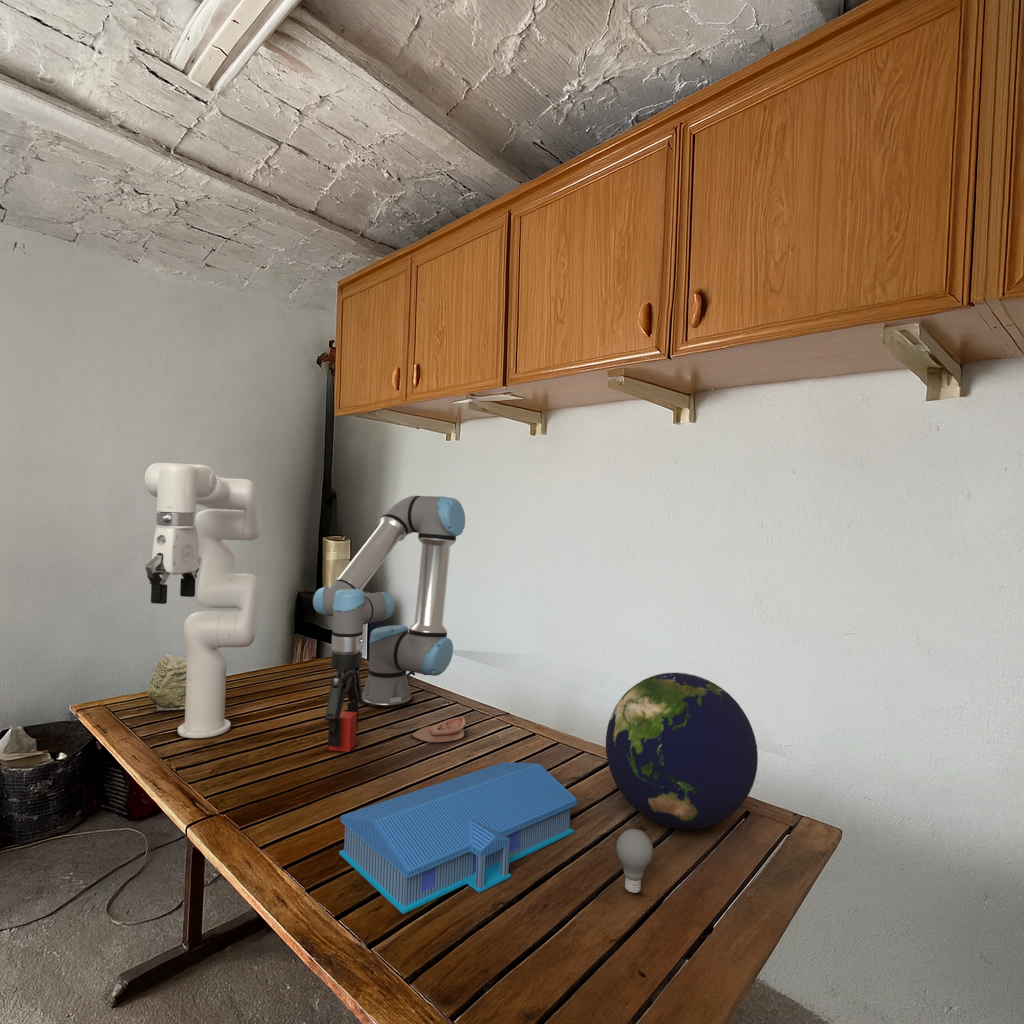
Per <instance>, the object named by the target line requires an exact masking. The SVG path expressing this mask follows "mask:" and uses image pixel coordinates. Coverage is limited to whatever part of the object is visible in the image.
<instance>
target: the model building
mask: <svg viewBox="0 0 1024 1024" xmlns="http://www.w3.org/2000/svg"><path fill="white" fill-rule="evenodd" d="M577 805H578V799H577V798H576V797H575V796H574V795H573V794H572V793H571V792H570V791H569V790H568V789H567V788H566V787H565V786H564V785H562V784H561V783H560V781H559V780H557V779H556V778H555V777H554V776H553V775H552V774H551V773H550V772H549V771H548V770H547V769H546V768H544V766H542V765H541V764H540V763H538V762H537V763H535V762H534V763H533V762H510V761H509V762H508V761H502V762H500V763H496V764H494V765H490V766H487V767H485V768H481V769H479V770H476V771H475V770H474V771H472V772H469V773H466V774H463V775H459V776H458V777H454V778H451V779H448V780H444V781H442V782H439V783H436V784H432V785H429V786H427V787H424V788H421V789H417V790H414V791H412V792H409V793H406V794H403V795H399V796H395V797H393V798H391V799H387V800H383V801H382V802H378V803H375V804H372V805H369V806H366V807H362V808H360V809H357V810H353V811H351V812H348V813H345V814H342V815H340V822H341V823H342V825H344V846H343V849H342V850H339V851H338V855H339V856H340V857H341V858H343V859H344V860H345V862H347V864H349V865H350V866H351V867H352V868H353V869H354V870H355V871H357V872H358V873H359V874H360V875H361V876H362V878H364V879H365V881H367V882H368V883H369V884H370V885H371V886H372V887H373V888H374V889H375V890H376V891H377V892H379V893H380V894H381V895H382V896H383V897H384V898H385V899H386V900H387V901H388V902H389V903H390V904H392V906H393V907H395V908H396V909H397V910H398V911H399V912H400V913H401V914H402V915H405V914H407V913H409V912H411V911H413V910H415V909H417V908H419V907H422V906H423V905H426V904H427V903H430V902H432V901H434V900H436V899H439V898H440V897H443V896H444V895H446V894H449V893H451V892H453V891H455V890H457V889H459V888H461V887H463V886H465V885H468V886H469V887H471V888H472V889H473V890H474V891H476V892H477V893H478V894H480V893H483V892H484V891H486V890H489V889H490V888H492V887H494V886H497V885H498V884H500V883H502V882H505V881H506V880H508V879H510V878H511V877H512V874H511V873H509V869H510V868H509V866H510V864H511V863H514V862H515V861H519V860H520V859H521V858H524V857H526V856H528V855H531V854H533V853H535V852H537V851H539V850H541V849H543V848H545V847H547V846H549V845H551V844H553V843H555V842H557V841H560V840H562V839H564V838H566V837H568V836H570V835H573V834H574V833H575V830H574V829H572V827H571V808H573V807H575V806H577Z"/></svg>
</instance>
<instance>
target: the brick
mask: <svg viewBox="0 0 1024 1024" xmlns="http://www.w3.org/2000/svg"><path fill="white" fill-rule="evenodd" d="M339 719H341V732H340V746H339V747H333V746H328V751H332V752H333V751H334V752H347V753H350V752H351V751H352V750H353V749H354V748H355V746H356V745H357V729H356V725H357V712H347V710H346V711H345V710H341V714H340V718H339Z"/></svg>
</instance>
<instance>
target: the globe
mask: <svg viewBox="0 0 1024 1024" xmlns="http://www.w3.org/2000/svg"><path fill="white" fill-rule="evenodd" d="M605 755H606V760H607V765H608V769H609V772H610V773H611V774H610V775H611V776H612V779H613V781H614V784H615V786H616V787H617V788H618V790H619V792H620V793H621V795H622V796H623V797H624V799H625V800H626V801H627V802H628V803H629V805H631V806H632V807H633V808H634V809H635V810H636V811H637V812H639V813H640V814H641V815H642V816H643V817H645V818H647V819H649V820H650V821H652V822H654V823H657V824H659V825H661V826H664V827H667V828H670V829H671V828H672V829H677V830H685V831H686V830H687V831H690V830H701V829H706V828H710V827H712V826H715V825H718V824H719V823H721V822H723V821H725V820H726V819H728V818H730V817H731V816H732V815H733V814H735V812H737V811H738V810H739V808H741V806H742V805H743V803H744V802H745V801H746V800H747V798H748V796H749V795H750V793H751V791H752V788H753V786H754V783H755V780H756V776H757V772H758V762H759V761H758V760H759V759H758V758H759V757H758V756H759V754H758V745H757V740H756V736H755V732H754V729H753V727H752V724H751V722H750V720H749V718H748V716H747V715H746V713H745V711H744V710H743V708H742V707H741V706H740V704H739V703H738V702H737V700H735V698H734V697H733V696H732V695H731V694H730V693H729V692H728V691H726V690H725V689H723V688H722V687H721V686H719V685H718V684H716V683H714V682H713V681H710V680H709V679H707V678H704V677H701V676H698V675H696V674H691V673H686V672H679V671H677V672H665V673H658V674H655V675H652V676H649V677H646V678H644V679H643V680H641V681H639V682H637V683H636V684H635V685H633V686H631V687H630V688H629V689H628V690H627V691H626V692H625V693H624V694H623V695H622V696H621V697H620V699H619V700H618V702H617V703H616V704H615V706H614V708H613V710H612V712H611V714H610V717H609V720H608V723H607V728H606V733H605Z"/></svg>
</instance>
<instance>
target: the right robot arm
mask: <svg viewBox="0 0 1024 1024" xmlns="http://www.w3.org/2000/svg"><path fill="white" fill-rule="evenodd" d="M377 526H378V527H377V528H376V529H374V531H373V533H372V534H371V535H370V536H369V538H368V539H366V542H365V543H364V544H363V545H362V547H361V548H360V549H359V550H358V552H357V553H356V554H355V555H354V557H353V558H352V559H351V560H350V562H349V563H348V564H347V565H346V567H345V568H343V569H344V570H342V572H341V573H340V575H339V576H338V577H337V578H336V579H335V581H334V582H333V583H332V585H331V586H330V587H329V586H325V587H321V588H320V587H319V588H318V589H317V590H316V591H315V593H314V594H313V598H312V606H313V608H314V611H315V612H316V613H317V614H319V615H323V616H327V617H332V633H331V646H330V647H331V648H330V649H331V651H332V652H331V654H330V666H331V668H332V669H334V670H336V675H335V677H331V678H330V689H329V694H328V700H327V705H326V711H325V716H324V720H325V721H328V735H327V736H328V737H327V738H328V740H327V747H329V746H333V747H339V746H340V732H341V719H339V718H340V714H341V711H343V706H344V701H345V698H346V695H347V697H348V698H347V699H348V701H349V702H348V703H347V706H346V707H347V709H346V712H357V725H356V730H357V729H358V727H359V726H358V725H359V703H360V704H362V703H363V704H364V705H366V706H370V707H374V708H381V709H382V708H384V709H385V708H387V709H388V708H398V707H402V706H405V705H408V704H409V703H411V701H412V691H411V688H410V684H409V680H408V677H410V676H416V674H419V675H423V676H431V677H432V676H433V677H436V676H440V675H441V674H443V673H445V671H446V670H447V669H448V667H449V665H450V663H451V661H452V659H453V655H454V644H453V641H452V639H451V638H449V637H448V630H447V628H446V627H445V626H444V618H445V617H444V616H445V606H446V597H447V595H446V594H447V585H448V575H449V564H450V554H451V547H452V546H453V545H454V544H456V541H457V537H458V536H460V535H462V533H464V529H465V527H466V514H465V510H464V507H463V505H462V503H461V502H460V500H458V499H456V498H455V497H450V496H449V497H448V496H435V495H433V496H430V495H410V496H407V497H405V498H403V499H401V500H399V501H398V502H396V503H395V504H393V505H392V506H391V507H389V509H387V511H385V512H384V513H383V515H382V516H381V517H380V518H379V520H378V521H377ZM412 533H415V534H417V535H418V536H417V539H418V541H419V542H420V543H421V546H422V547H421V554H420V563H419V564H420V565H419V575H418V586H417V594H416V595H417V596H416V604H415V605H416V606H415V616H414V622H413V624H412V625H410V626H408V625H405V624H397V625H393V624H392V625H385V626H379V627H376V628H374V629H372V630H371V632H370V634H369V635H370V636H369V642H368V643H369V648H368V649H369V650H368V651H369V652H368V676H367V679H366V681H365V685H364V687H363V690H362V683H361V674H360V673H361V667H362V665H363V664H362V661H363V652H362V650H363V643H365V639H364V638H363V637H364V635H363V634H364V625H367V624H372V623H376V622H382V621H384V620H387V619H389V618H390V617H392V615H393V614H394V611H395V608H396V607H395V606H396V605H395V601H394V598H393V597H392V595H391V594H389V593H388V592H385V591H376V592H366V591H363V590H364V588H365V586H367V584H368V583H369V581H370V580H371V578H373V576H374V575H375V573H376V572H377V571H378V569H379V568H380V566H381V565H382V564H383V562H384V561H385V560H386V559H387V557H388V556H389V555H390V553H391V552H392V551H393V550H394V548H395V546H396V545H397V544H398V543H399V542H402V541H403V540H405V539H406V537H407V536H408V535H410V534H412Z"/></svg>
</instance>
